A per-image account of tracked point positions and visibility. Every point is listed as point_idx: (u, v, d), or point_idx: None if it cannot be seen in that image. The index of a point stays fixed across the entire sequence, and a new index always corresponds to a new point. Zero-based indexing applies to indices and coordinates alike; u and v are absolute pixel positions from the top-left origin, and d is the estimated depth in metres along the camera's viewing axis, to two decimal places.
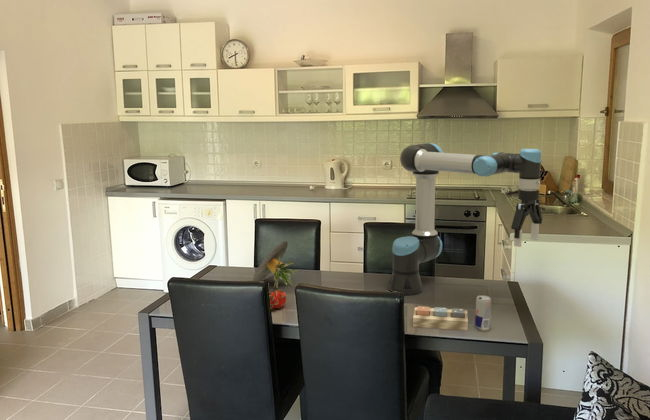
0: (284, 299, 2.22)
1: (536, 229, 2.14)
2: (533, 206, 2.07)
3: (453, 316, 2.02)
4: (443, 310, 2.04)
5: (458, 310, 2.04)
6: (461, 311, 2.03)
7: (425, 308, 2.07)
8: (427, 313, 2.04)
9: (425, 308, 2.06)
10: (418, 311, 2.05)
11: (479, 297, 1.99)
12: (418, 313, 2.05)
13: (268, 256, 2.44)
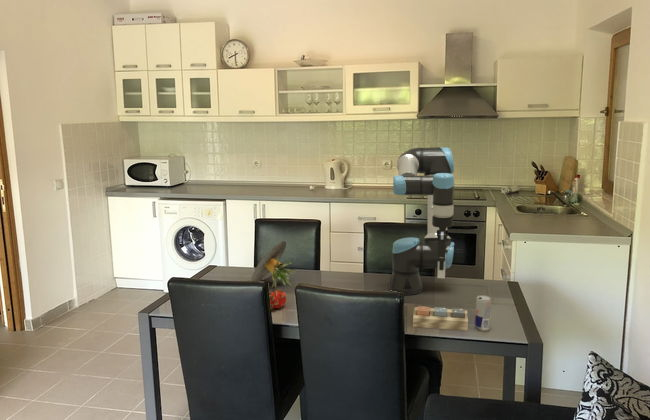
0: (284, 299, 2.22)
1: None
2: (437, 233, 1.99)
3: (453, 316, 2.02)
4: (443, 310, 2.04)
5: (458, 310, 2.04)
6: (461, 311, 2.03)
7: (425, 308, 2.07)
8: (427, 313, 2.04)
9: (425, 308, 2.06)
10: (418, 311, 2.05)
11: (479, 297, 1.99)
12: (418, 313, 2.05)
13: (266, 256, 2.44)
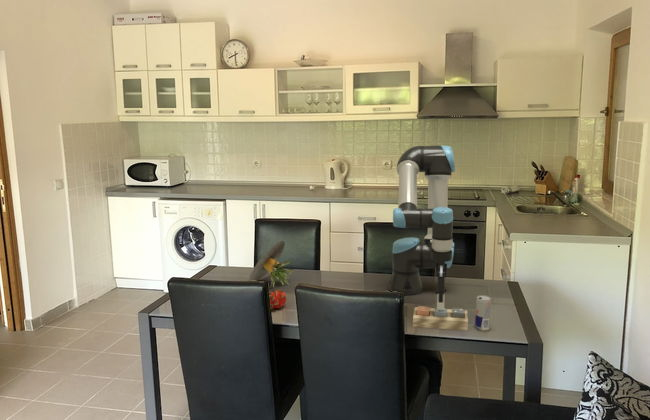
0: (284, 299, 2.22)
1: None
2: (436, 265, 2.01)
3: (453, 316, 2.02)
4: (443, 311, 2.04)
5: (458, 310, 2.04)
6: (461, 311, 2.03)
7: (425, 308, 2.07)
8: (427, 313, 2.04)
9: (425, 308, 2.06)
10: (418, 311, 2.05)
11: (479, 297, 1.99)
12: (418, 313, 2.05)
13: (264, 256, 2.44)
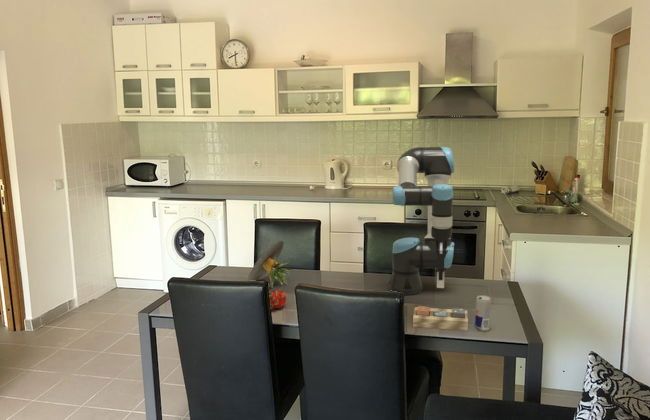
0: (284, 299, 2.22)
1: None
2: (436, 243, 2.00)
3: (453, 316, 2.02)
4: (443, 314, 2.04)
5: (458, 310, 2.04)
6: (461, 311, 2.03)
7: (425, 308, 2.07)
8: (427, 313, 2.04)
9: (425, 308, 2.06)
10: (418, 311, 2.05)
11: (479, 297, 1.99)
12: (418, 313, 2.05)
13: (263, 256, 2.44)
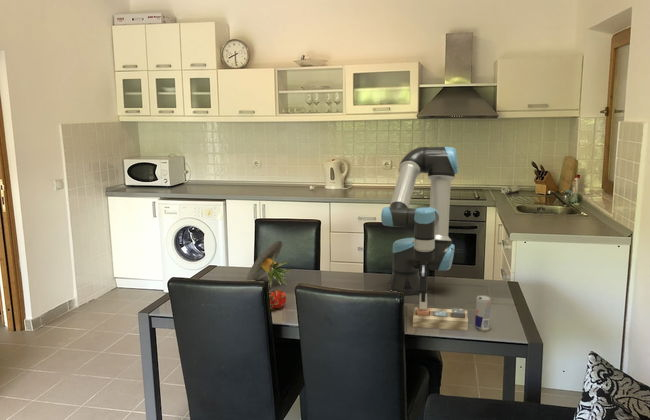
0: (284, 299, 2.22)
1: None
2: (418, 265, 2.03)
3: (453, 316, 2.02)
4: (443, 314, 2.04)
5: (458, 310, 2.04)
6: (461, 311, 2.03)
7: None
8: (427, 314, 2.04)
9: (425, 310, 2.06)
10: (418, 312, 2.05)
11: (479, 297, 1.99)
12: None
13: (262, 256, 2.45)
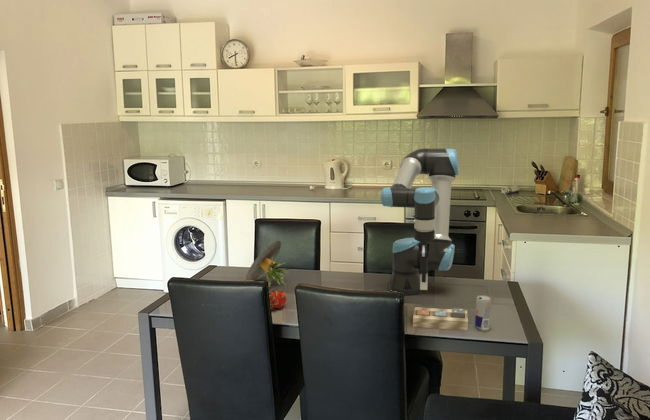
0: (284, 299, 2.22)
1: None
2: (419, 245, 2.01)
3: (453, 316, 2.02)
4: (443, 314, 2.04)
5: (458, 310, 2.04)
6: (461, 311, 2.03)
7: (425, 312, 2.07)
8: None
9: (424, 312, 2.06)
10: None
11: (479, 297, 1.99)
12: None
13: (261, 256, 2.45)
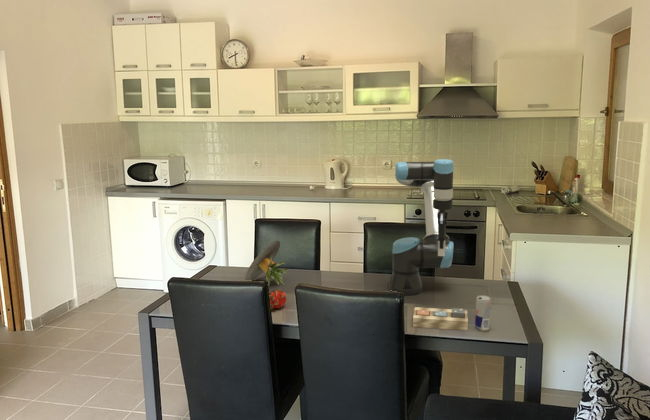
0: (284, 299, 2.22)
1: None
2: (437, 214, 2.14)
3: (453, 316, 2.02)
4: (443, 314, 2.04)
5: (458, 310, 2.04)
6: (461, 311, 2.03)
7: (425, 312, 2.07)
8: None
9: (424, 312, 2.06)
10: None
11: (479, 297, 1.99)
12: None
13: (260, 255, 2.45)
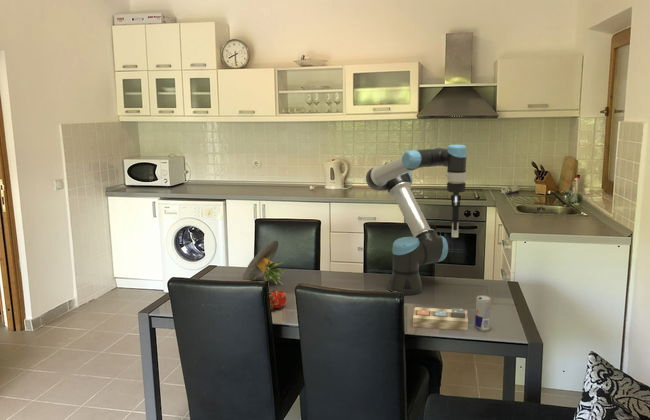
0: (284, 299, 2.22)
1: None
2: (451, 196, 2.25)
3: (453, 316, 2.02)
4: (443, 314, 2.04)
5: (458, 310, 2.04)
6: (461, 311, 2.03)
7: (425, 312, 2.07)
8: None
9: (424, 312, 2.06)
10: None
11: (479, 297, 1.99)
12: None
13: (258, 255, 2.45)
